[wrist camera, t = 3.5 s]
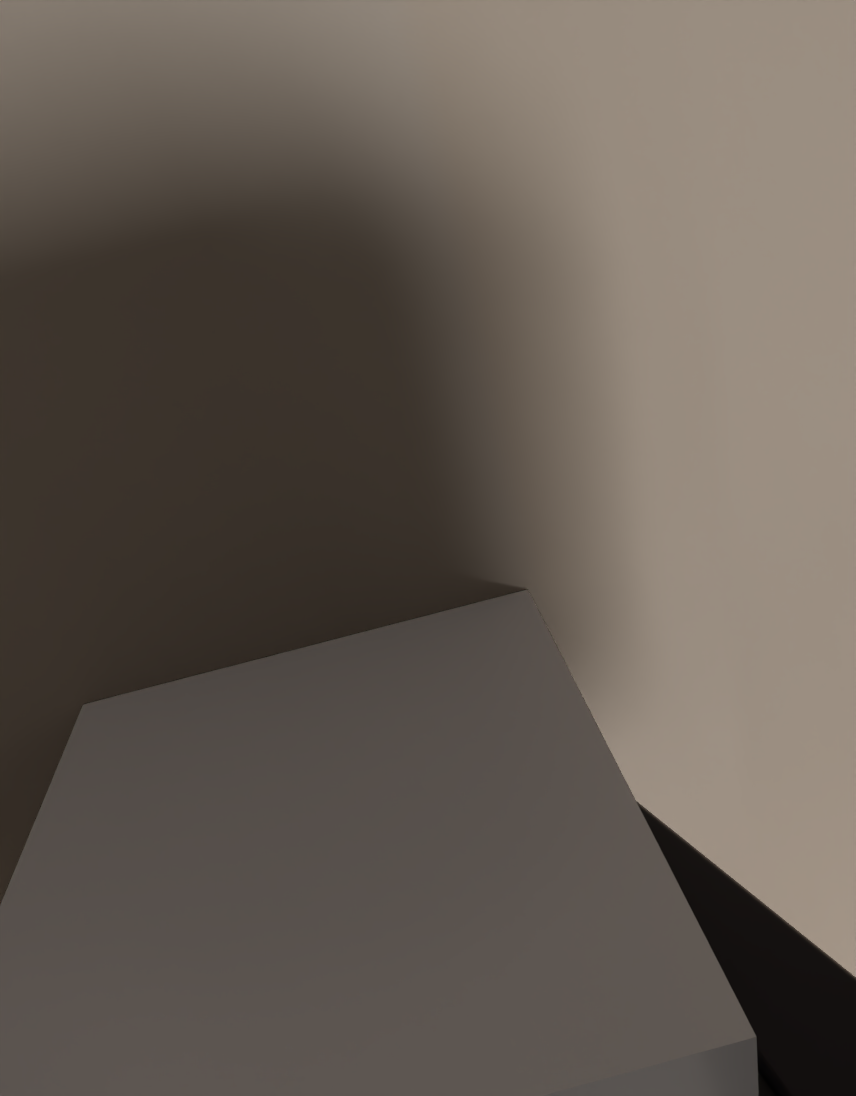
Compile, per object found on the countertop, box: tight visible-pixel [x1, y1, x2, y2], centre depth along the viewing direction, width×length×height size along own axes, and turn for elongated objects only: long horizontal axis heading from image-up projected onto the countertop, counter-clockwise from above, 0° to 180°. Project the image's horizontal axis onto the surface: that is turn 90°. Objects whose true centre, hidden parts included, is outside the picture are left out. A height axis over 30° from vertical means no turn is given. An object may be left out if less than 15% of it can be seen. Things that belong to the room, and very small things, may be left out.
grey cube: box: [0, 589, 759, 1096], centre depth 8 cm, size 5×5×5 cm
